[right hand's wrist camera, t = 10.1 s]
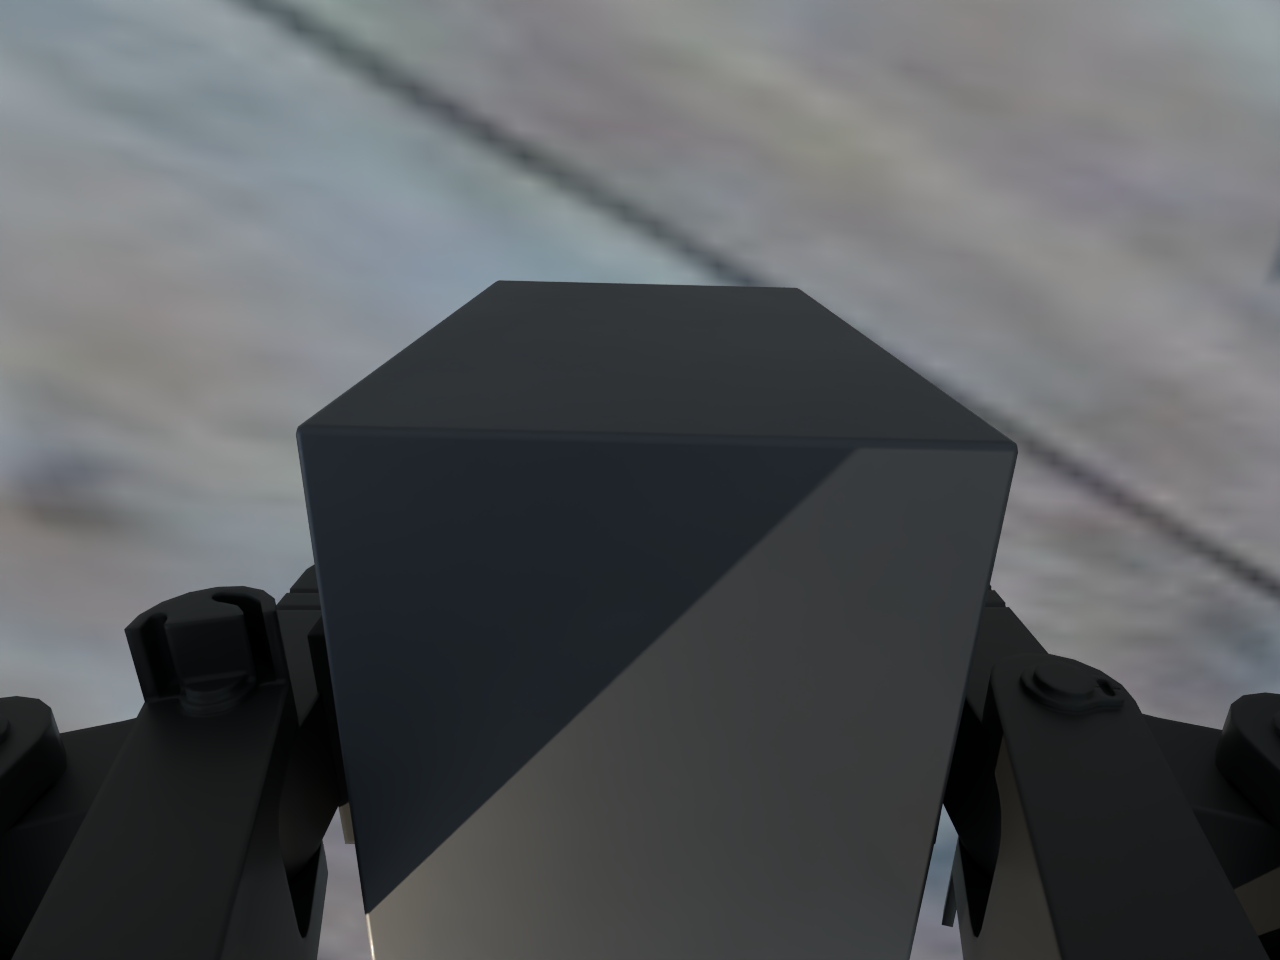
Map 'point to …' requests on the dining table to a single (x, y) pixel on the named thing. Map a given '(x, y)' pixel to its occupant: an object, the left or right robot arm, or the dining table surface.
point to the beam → (648, 625)
